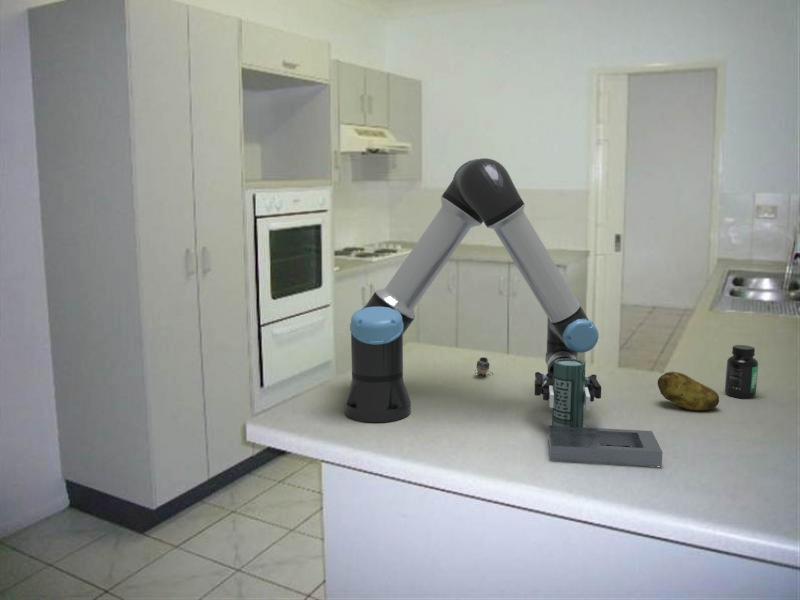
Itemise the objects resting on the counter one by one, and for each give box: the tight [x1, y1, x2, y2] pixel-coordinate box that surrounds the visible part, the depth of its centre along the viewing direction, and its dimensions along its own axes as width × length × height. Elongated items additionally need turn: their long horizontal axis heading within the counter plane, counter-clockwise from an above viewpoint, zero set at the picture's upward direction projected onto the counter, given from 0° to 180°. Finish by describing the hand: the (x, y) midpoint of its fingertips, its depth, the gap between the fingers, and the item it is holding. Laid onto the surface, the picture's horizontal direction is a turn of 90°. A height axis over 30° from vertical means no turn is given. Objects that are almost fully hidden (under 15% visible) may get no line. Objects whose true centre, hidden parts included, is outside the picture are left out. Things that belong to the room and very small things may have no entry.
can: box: [551, 358, 586, 427], centre depth 146 cm, size 6×6×15 cm
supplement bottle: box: [724, 344, 759, 400], centre depth 170 cm, size 7×7×12 cm
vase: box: [474, 357, 494, 377], centre depth 187 cm, size 5×5×6 cm
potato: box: [657, 371, 720, 411], centre depth 161 cm, size 8×13×8 cm, turn 51°
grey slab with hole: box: [548, 425, 664, 468], centre depth 135 cm, size 20×11×3 cm, turn 80°
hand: (569, 402), depth 141 cm, fingers closed on can, 6 cm apart
